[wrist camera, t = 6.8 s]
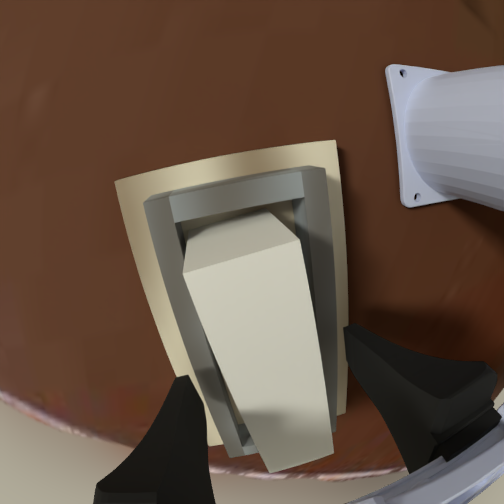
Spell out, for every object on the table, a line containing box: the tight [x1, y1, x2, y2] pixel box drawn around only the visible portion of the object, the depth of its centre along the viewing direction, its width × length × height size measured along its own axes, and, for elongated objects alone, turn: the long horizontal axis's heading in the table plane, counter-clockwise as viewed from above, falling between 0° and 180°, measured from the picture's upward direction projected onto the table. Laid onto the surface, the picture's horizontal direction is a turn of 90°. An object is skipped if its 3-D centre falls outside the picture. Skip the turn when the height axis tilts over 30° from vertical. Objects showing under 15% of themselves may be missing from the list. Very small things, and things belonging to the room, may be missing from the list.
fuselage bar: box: [183, 208, 334, 473], centre depth 13 cm, size 4×12×5 cm, turn 15°
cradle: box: [115, 140, 348, 458], centre depth 15 cm, size 10×18×3 cm, turn 10°
